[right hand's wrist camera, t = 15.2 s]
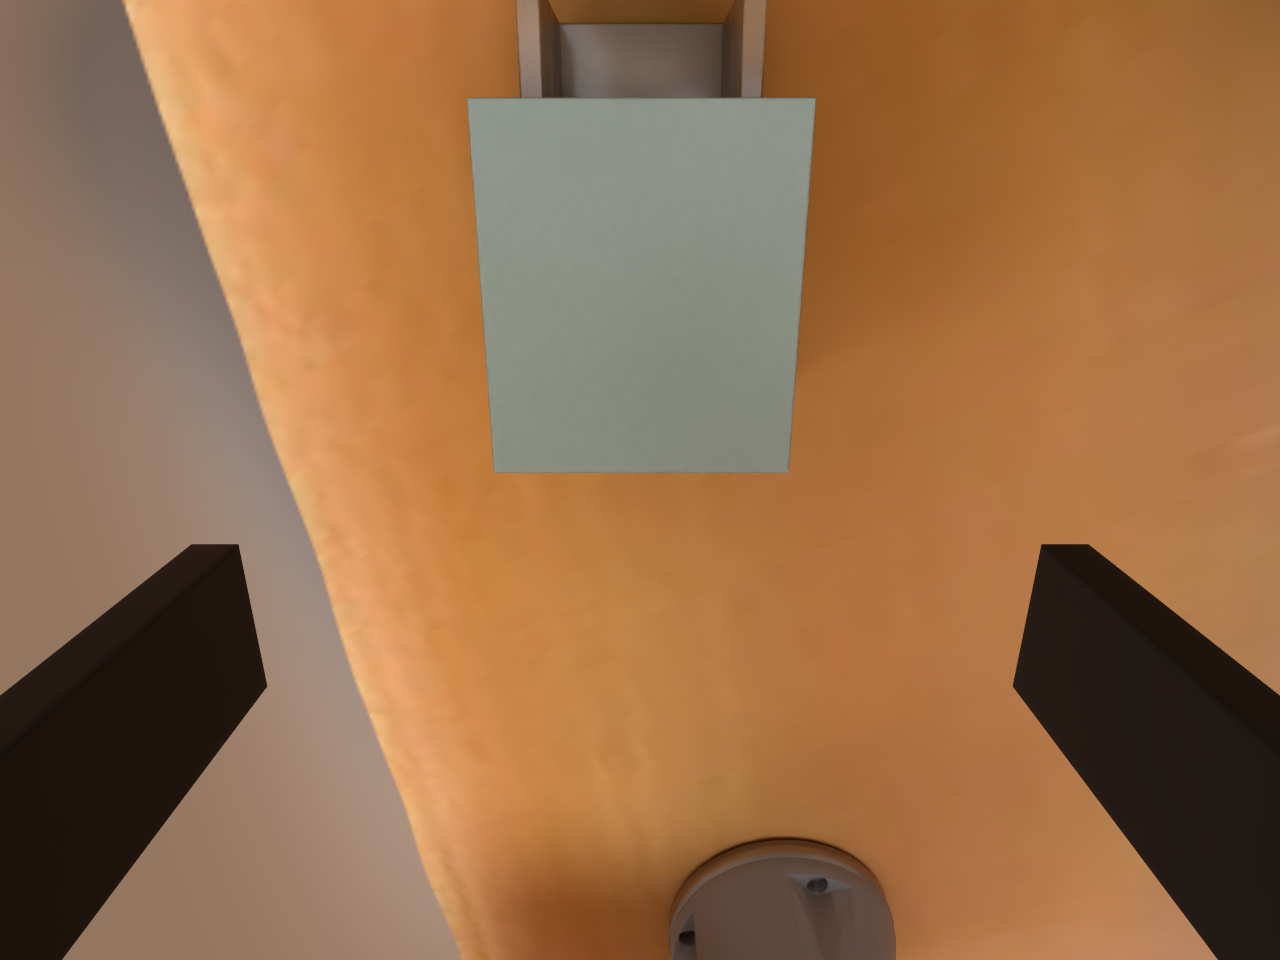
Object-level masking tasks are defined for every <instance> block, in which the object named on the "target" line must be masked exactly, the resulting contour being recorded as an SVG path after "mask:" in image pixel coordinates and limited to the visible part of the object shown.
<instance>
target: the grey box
mask: <svg viewBox="0 0 1280 960" xmlns="http://www.w3.org/2000/svg"><path fill="white" fill-rule="evenodd" d="M467 106H468V120H469V134H470V148H471V161H472V175H473V189H474V202H475V216H476V230H477V244H478V257H479V271H480V285H481V299H482V312H483V326H484V340H485V353H486V367H487V381H488V395H489V408H490V422H491V436H492V449H493V463H494V472H495V473H788V471H789V460H790V446H791V433H792V419H793V406H794V392H795V379H796V365H797V352H798V338H799V325H800V311H801V297H802V284H803V270H804V257H805V243H806V230H807V216H808V203H809V189H810V176H811V162H812V149H813V135H814V122H815V108H816V98H468V99H467Z"/></svg>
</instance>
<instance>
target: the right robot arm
mask: <svg viewBox="0 0 1280 960" xmlns="http://www.w3.org/2000/svg"><path fill="white" fill-rule="evenodd" d="M266 687H267V683H266V678H265V673H264V668H263V663H262V658H261V653H260V648H259V643H258V638H257V634H256V629H255V624H254V619H253V614H252V609H251V604H250V599H249V594H248V589H247V584H246V579H245V574H244V569H243V565H242V560H241V555H240V550H239V545H238V544H192V545H190V546H189V547H188V548H186V549H185V550H184V551H183V552H181V553H180V554H179V555H178V556H176V557H175V558H174V559H173V560H171V561H170V562H169V563H167V564H166V565H165V566H164V567H162V568H161V569H160V570H159V571H157V572H156V573H155V574H153V575H152V576H151V577H150V578H148V579H147V580H146V581H145V582H143V583H142V584H141V585H140V586H138V587H137V588H136V589H135V590H133V591H132V592H131V593H129V594H128V595H127V596H126V597H124V598H123V599H122V600H121V601H119V602H118V603H117V604H116V605H114V606H113V607H112V608H110V609H109V610H108V611H107V612H105V613H104V614H103V615H102V616H100V617H99V618H98V619H97V620H95V621H94V622H93V623H92V624H90V625H89V626H88V627H86V628H85V629H84V630H83V631H81V632H80V633H79V634H78V635H76V636H75V637H74V638H73V639H71V640H70V641H69V642H68V643H66V644H65V645H64V646H62V647H61V648H60V649H59V650H57V651H56V652H55V653H54V654H52V655H51V656H50V657H49V658H47V659H46V660H45V661H43V662H42V663H41V664H40V665H38V666H37V667H36V668H35V669H33V670H32V671H31V672H30V673H28V674H27V675H26V676H24V677H23V678H22V679H21V680H19V681H18V682H17V683H16V684H14V685H13V686H12V687H11V688H9V689H8V690H7V691H6V692H4V693H3V694H2V695H0V960H62V959H63V958H64V956H65V955H66V954H67V952H68V951H69V950H70V948H71V947H72V946H73V944H74V943H75V942H76V940H77V939H78V938H79V936H80V935H81V934H82V932H83V931H84V930H85V928H86V927H87V926H88V924H89V923H90V922H91V920H92V919H93V918H94V916H95V915H96V914H97V912H98V911H99V910H100V908H101V907H102V906H103V904H104V903H105V902H106V900H107V899H108V898H109V896H110V895H111V894H112V892H113V891H114V890H115V888H116V887H117V886H118V884H119V883H120V882H121V880H122V879H123V878H124V876H125V875H126V874H127V872H128V871H129V870H130V868H131V867H132V866H133V864H134V863H135V862H136V860H137V859H138V858H139V856H140V855H141V854H142V852H143V851H144V850H145V848H146V847H147V846H148V844H149V843H150V842H151V840H152V839H153V838H154V836H155V835H156V834H157V832H158V831H159V830H160V828H161V827H162V826H163V824H164V823H165V822H166V820H167V819H168V818H169V816H170V815H171V814H172V812H173V811H174V810H175V808H176V807H177V806H178V804H179V803H180V802H181V801H182V799H183V798H184V796H185V795H186V794H187V792H188V791H189V790H190V789H191V787H192V786H193V784H194V783H195V782H196V781H197V779H198V778H199V776H200V775H201V774H202V773H203V771H204V770H205V769H206V767H207V766H208V765H209V763H210V762H211V761H212V759H213V758H214V757H215V755H216V754H217V752H218V751H219V750H220V749H221V747H222V746H223V745H224V743H225V742H226V741H227V739H228V738H229V737H230V735H231V734H232V732H233V731H234V730H235V729H236V727H237V726H238V725H239V723H240V722H241V721H242V719H243V718H244V717H245V715H246V714H247V713H248V711H249V710H250V709H251V707H252V706H253V705H254V703H255V702H256V701H257V699H258V698H259V697H260V695H261V694H262V693H263V691H264V690H265V689H266ZM1013 687H1014V689H1015V690H1016V691H1017V693H1018V694H1019V695H1020V697H1021V698H1022V699H1023V701H1024V702H1025V703H1026V705H1027V706H1028V707H1029V709H1030V710H1031V711H1032V713H1033V714H1034V715H1035V717H1036V718H1037V719H1038V721H1039V722H1040V723H1041V725H1042V726H1043V727H1044V729H1045V730H1046V731H1047V733H1048V734H1049V735H1050V737H1051V738H1052V739H1053V741H1054V742H1055V743H1056V745H1057V746H1058V747H1059V749H1060V750H1061V751H1062V753H1063V754H1064V755H1065V757H1066V758H1067V759H1068V761H1069V762H1070V763H1071V765H1072V766H1073V767H1074V769H1075V770H1076V771H1077V773H1078V774H1079V775H1080V777H1081V778H1082V779H1083V781H1084V782H1085V783H1086V785H1087V786H1088V787H1089V789H1090V790H1091V791H1092V793H1093V794H1094V795H1095V797H1096V798H1097V799H1098V801H1099V802H1100V803H1101V805H1102V806H1103V807H1104V808H1105V810H1106V811H1107V812H1108V814H1109V815H1110V816H1111V818H1112V819H1113V820H1114V822H1115V823H1116V824H1117V826H1118V827H1119V828H1120V830H1121V831H1122V832H1123V834H1124V835H1125V836H1126V838H1127V839H1128V840H1129V842H1130V843H1131V844H1132V846H1133V847H1134V848H1135V850H1136V851H1137V852H1138V854H1139V855H1140V856H1141V858H1142V859H1143V860H1144V862H1145V863H1146V864H1147V866H1148V867H1149V868H1150V870H1151V871H1152V872H1153V874H1154V875H1155V876H1156V878H1157V879H1158V880H1159V882H1160V883H1161V884H1162V886H1163V887H1164V888H1165V890H1166V891H1167V892H1168V894H1169V895H1170V896H1171V898H1172V899H1173V900H1174V902H1175V903H1176V904H1177V906H1178V907H1179V908H1180V910H1181V911H1182V912H1183V914H1184V915H1185V916H1186V918H1187V919H1188V920H1189V922H1190V923H1191V924H1192V926H1193V927H1194V928H1195V930H1196V931H1197V932H1198V934H1199V935H1200V936H1201V938H1202V939H1203V940H1204V942H1205V943H1206V944H1207V946H1208V947H1209V948H1210V950H1211V951H1212V952H1213V954H1214V955H1215V956H1216V958H1217V959H1218V960H1280V695H1278V694H1277V693H1276V692H1274V691H1273V690H1272V689H1271V688H1269V687H1268V686H1267V685H1266V684H1264V683H1263V682H1262V681H1261V680H1259V679H1258V678H1257V677H1256V676H1254V675H1253V674H1252V673H1250V672H1249V671H1248V670H1247V669H1245V668H1244V667H1243V666H1242V665H1240V664H1239V663H1238V662H1237V661H1235V660H1234V659H1233V658H1231V657H1230V656H1229V655H1228V654H1226V653H1225V652H1224V651H1223V650H1221V649H1220V648H1219V647H1218V646H1216V645H1215V644H1214V643H1213V642H1211V641H1210V640H1209V639H1207V638H1206V637H1205V636H1204V635H1202V634H1201V633H1200V632H1199V631H1197V630H1196V629H1195V628H1194V627H1192V626H1191V625H1190V624H1188V623H1187V622H1186V621H1185V620H1183V619H1182V618H1181V617H1180V616H1178V615H1177V614H1176V613H1175V612H1173V611H1172V610H1171V609H1170V608H1168V607H1167V606H1166V605H1164V604H1163V603H1162V602H1161V601H1159V600H1158V599H1157V598H1156V597H1154V596H1153V595H1152V594H1151V593H1149V592H1148V591H1147V590H1145V589H1144V588H1143V587H1142V586H1140V585H1139V584H1138V583H1137V582H1135V581H1134V580H1133V579H1132V578H1130V577H1129V576H1128V575H1127V574H1125V573H1124V572H1123V571H1121V570H1120V569H1119V568H1118V567H1116V566H1115V565H1114V564H1113V563H1111V562H1110V561H1109V560H1108V559H1106V558H1105V557H1104V556H1102V555H1101V554H1100V553H1099V552H1097V551H1096V550H1095V549H1094V548H1092V547H1091V546H1090V545H1089V544H1042V545H1041V550H1040V555H1039V560H1038V565H1037V569H1036V574H1035V579H1034V584H1033V589H1032V594H1031V599H1030V604H1029V609H1028V614H1027V619H1026V624H1025V629H1024V633H1023V638H1022V643H1021V648H1020V653H1019V658H1018V663H1017V668H1016V673H1015V678H1014V683H1013ZM669 940H670V952H671V956H672V960H896V939H895V931H894V923H893V919H892V914H891V912H890V909H889V906H888V903H887V900H886V897H885V894H884V892H883V889H882V888H881V886H880V884H879V882H878V881H877V879H876V878H875V877H874V875H873V874H872V873H871V872H870V871H869V870H868V869H867V868H866V867H865V866H864V865H862V864H861V863H860V862H859V861H857V860H856V859H854V858H853V857H851V856H849V855H847V854H846V853H844V852H841V851H839V850H837V849H834V848H831V847H828V846H825V845H822V844H818V843H813V842H807V841H798V840H772V841H764V842H758V843H753V844H748V845H745V846H742V847H738V848H735V849H733V850H730V851H728V852H725V853H723V854H721V855H719V856H717V857H715V858H714V859H712V860H710V861H709V862H707V863H706V864H704V865H703V866H702V867H700V868H699V869H698V870H697V871H696V872H694V873H693V874H692V875H691V876H690V877H689V878H688V879H687V880H686V882H685V883H684V884H683V886H682V887H681V888H680V890H679V892H678V893H677V895H676V897H675V899H674V902H673V904H672V908H671V911H670V917H669Z"/></svg>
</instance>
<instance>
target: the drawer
mask: <svg viewBox="0 0 1280 960" xmlns="http://www.w3.org/2000/svg"><path fill="white" fill-rule="evenodd" d="M767 1H768V0H735V2H734V4H733V6H732V8H731V10H730V11H729V13H728V15H727V17H726V19H725V21H724V23H559V21H558V19H557V17H556V15H555V13H554V11H553V9H552V7H551V5H550V3H549V1H548V0H516V20H517V40H518V60H519V80H520V98H763V79H764V60H765V40H766V21H767Z"/></svg>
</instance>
